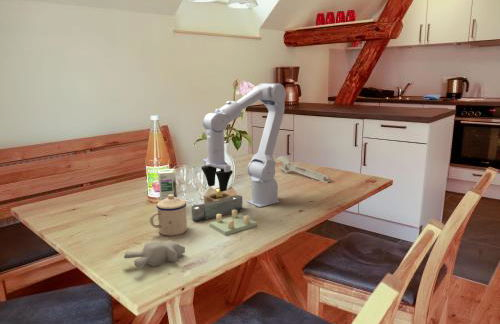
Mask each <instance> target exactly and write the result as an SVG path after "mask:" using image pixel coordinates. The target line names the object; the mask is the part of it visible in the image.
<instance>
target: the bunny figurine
mask: <svg viewBox="0 0 500 324" xmlns="http://www.w3.org/2000/svg"><path fill="white" fill-rule="evenodd" d="M185 252H186V247H185V246H184V245H181V244H180V243H178V242H175V241H173V240H167V241H165V242H161V241H160V242H159V241H158V242H157V241H152V242H148V243H146V244H144V246H143V248H142V251H128V252H125V253H124V255H123V258H124V259H132V258H136V259H134V260H133V263H134V266H135V267H137V268H141V267H144V266H145V265H146V264H148V265H150V266H151V267H153V268H154V266H155V267H158V266H161V265H163V264H165V263H166V262H176V261H178V259H180V258H181V257H182V256H183V254H184V253H185ZM177 258H178V259H177Z"/></svg>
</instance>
